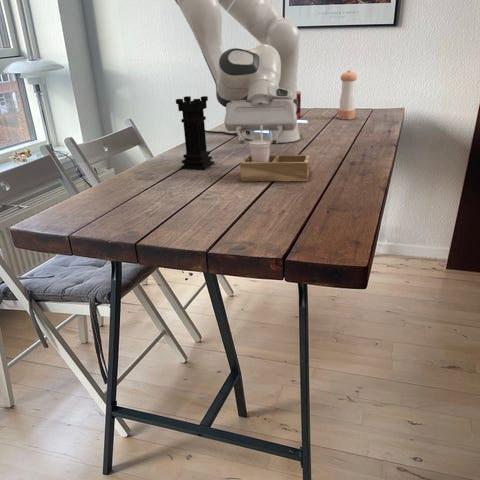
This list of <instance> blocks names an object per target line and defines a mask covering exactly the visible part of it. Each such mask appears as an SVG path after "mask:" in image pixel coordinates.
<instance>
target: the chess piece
mask: <svg viewBox="0 0 480 480" xmlns="http://www.w3.org/2000/svg"><path fill="white" fill-rule="evenodd" d="M208 101H209V98H208V95H203V96H200V98H194V99H192V96H191V95H188V96H187V95H186V96H183V98H177V99H175V105H177V108H178V112H182V118H181V123H183V130H184V131H183V134H184V142H185V153H184V154H183V155H182V157H183V160H181V164H182V165H181V166H180V169H181V170H195V171H197V170H198V171H199V170H200V171H205V170H207V169H208V168H209V167H211V166H213V165H215V160H213V156H212V155H211V151H210V150H207V139H206V138H207V137H206V132H205V130H206V125H205V124H206V123H205V121H206V120H207V117H206V116H205V112H204V110H206V109H207V108H208V107H207V102H208Z"/></svg>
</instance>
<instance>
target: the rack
mask: <svg viewBox="0 0 480 480" xmlns="http://www.w3.org/2000/svg"><path fill="white" fill-rule="evenodd" d="M310 164H311V155H310V154H269V162H252V158H251V154H246V155H244V157H243V159H242V160H241V161H240V163H239V167H240V182H308V180H309V176H310V166H311V165H310Z"/></svg>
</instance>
